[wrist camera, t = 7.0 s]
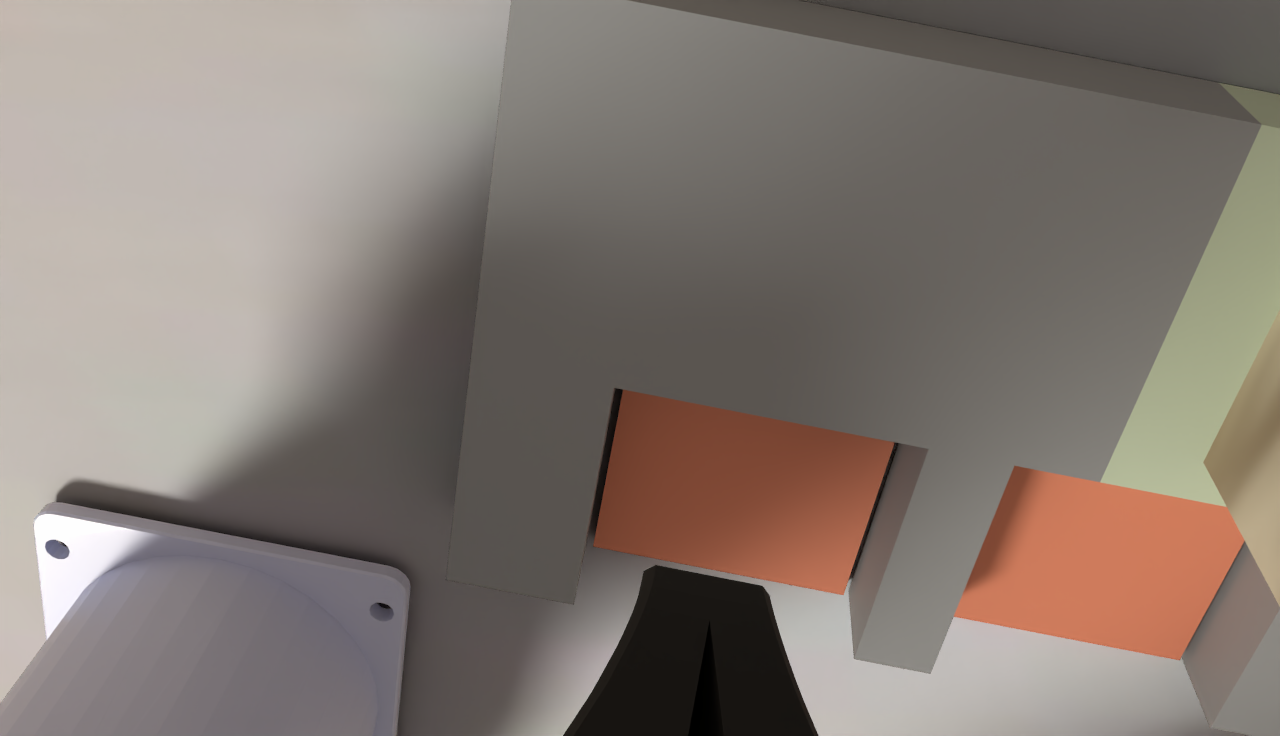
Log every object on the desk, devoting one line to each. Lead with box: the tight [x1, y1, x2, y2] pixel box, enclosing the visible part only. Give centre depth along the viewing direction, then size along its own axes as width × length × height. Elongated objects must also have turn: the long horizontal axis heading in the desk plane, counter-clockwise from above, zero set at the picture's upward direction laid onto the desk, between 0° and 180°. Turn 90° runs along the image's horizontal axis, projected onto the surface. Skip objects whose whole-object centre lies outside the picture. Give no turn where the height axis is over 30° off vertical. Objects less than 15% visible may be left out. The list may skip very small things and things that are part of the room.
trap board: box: [446, 0, 1280, 736], centre depth 21 cm, size 12×18×4 cm, turn 80°
